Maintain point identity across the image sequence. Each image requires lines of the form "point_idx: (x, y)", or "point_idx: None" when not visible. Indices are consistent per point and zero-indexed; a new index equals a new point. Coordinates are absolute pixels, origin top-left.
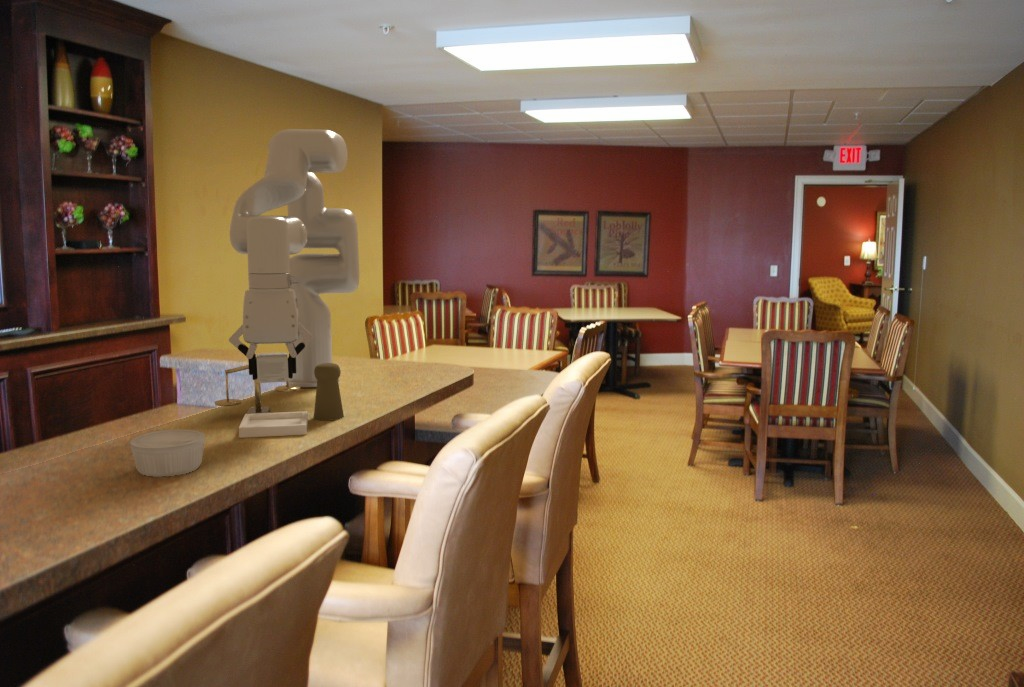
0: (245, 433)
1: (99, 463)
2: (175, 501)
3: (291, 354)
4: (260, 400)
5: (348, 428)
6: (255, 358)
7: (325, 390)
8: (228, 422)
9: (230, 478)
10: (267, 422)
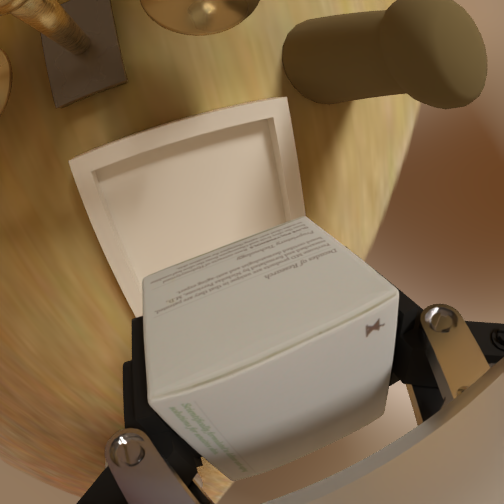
0: None
1: (41, 444)
2: (218, 485)
3: (414, 382)
4: (80, 38)
5: (382, 195)
6: (182, 441)
7: (386, 94)
8: (23, 160)
9: None
10: (168, 198)
